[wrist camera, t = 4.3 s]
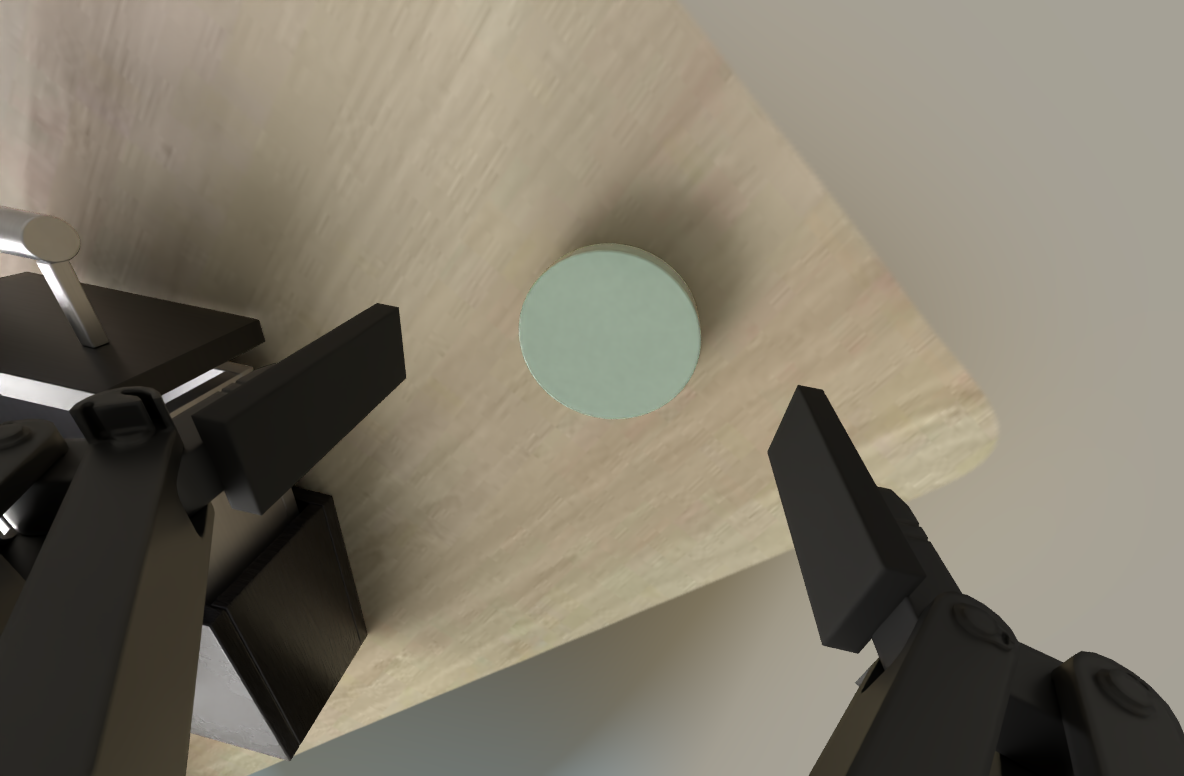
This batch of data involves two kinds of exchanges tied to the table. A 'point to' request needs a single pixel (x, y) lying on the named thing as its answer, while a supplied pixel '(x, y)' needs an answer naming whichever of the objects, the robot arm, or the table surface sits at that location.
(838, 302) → the table surface
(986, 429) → the table surface
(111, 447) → the robot arm
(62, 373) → the drawer
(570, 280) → the plate
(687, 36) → the table surface
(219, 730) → the cabinet
